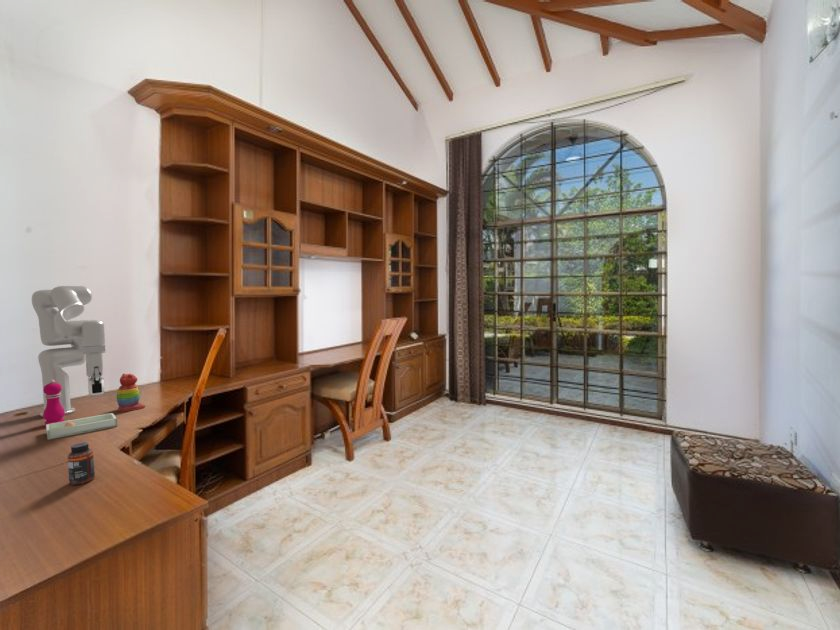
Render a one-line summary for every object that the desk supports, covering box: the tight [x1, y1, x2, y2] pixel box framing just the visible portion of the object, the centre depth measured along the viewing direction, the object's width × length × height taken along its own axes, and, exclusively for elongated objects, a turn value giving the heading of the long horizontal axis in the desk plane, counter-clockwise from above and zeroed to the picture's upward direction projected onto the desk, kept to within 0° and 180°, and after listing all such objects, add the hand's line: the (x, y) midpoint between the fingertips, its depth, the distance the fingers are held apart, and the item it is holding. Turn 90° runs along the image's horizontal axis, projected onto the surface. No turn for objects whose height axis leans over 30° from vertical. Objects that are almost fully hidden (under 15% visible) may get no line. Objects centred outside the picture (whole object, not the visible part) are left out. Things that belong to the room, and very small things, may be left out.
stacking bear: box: [116, 373, 146, 412], centre depth 199 cm, size 11×10×18 cm
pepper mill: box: [42, 380, 66, 427], centre depth 176 cm, size 7×7×20 cm
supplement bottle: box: [67, 441, 96, 486], centre depth 120 cm, size 6×6×11 cm
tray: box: [45, 412, 118, 441], centre depth 168 cm, size 12×22×4 cm, turn 135°
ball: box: [64, 422, 75, 427], centre depth 166 cm, size 3×3×3 cm
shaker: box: [87, 376, 105, 396], centre depth 171 cm, size 5×5×7 cm
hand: (96, 391), depth 171 cm, fingers closed on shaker, 5 cm apart
